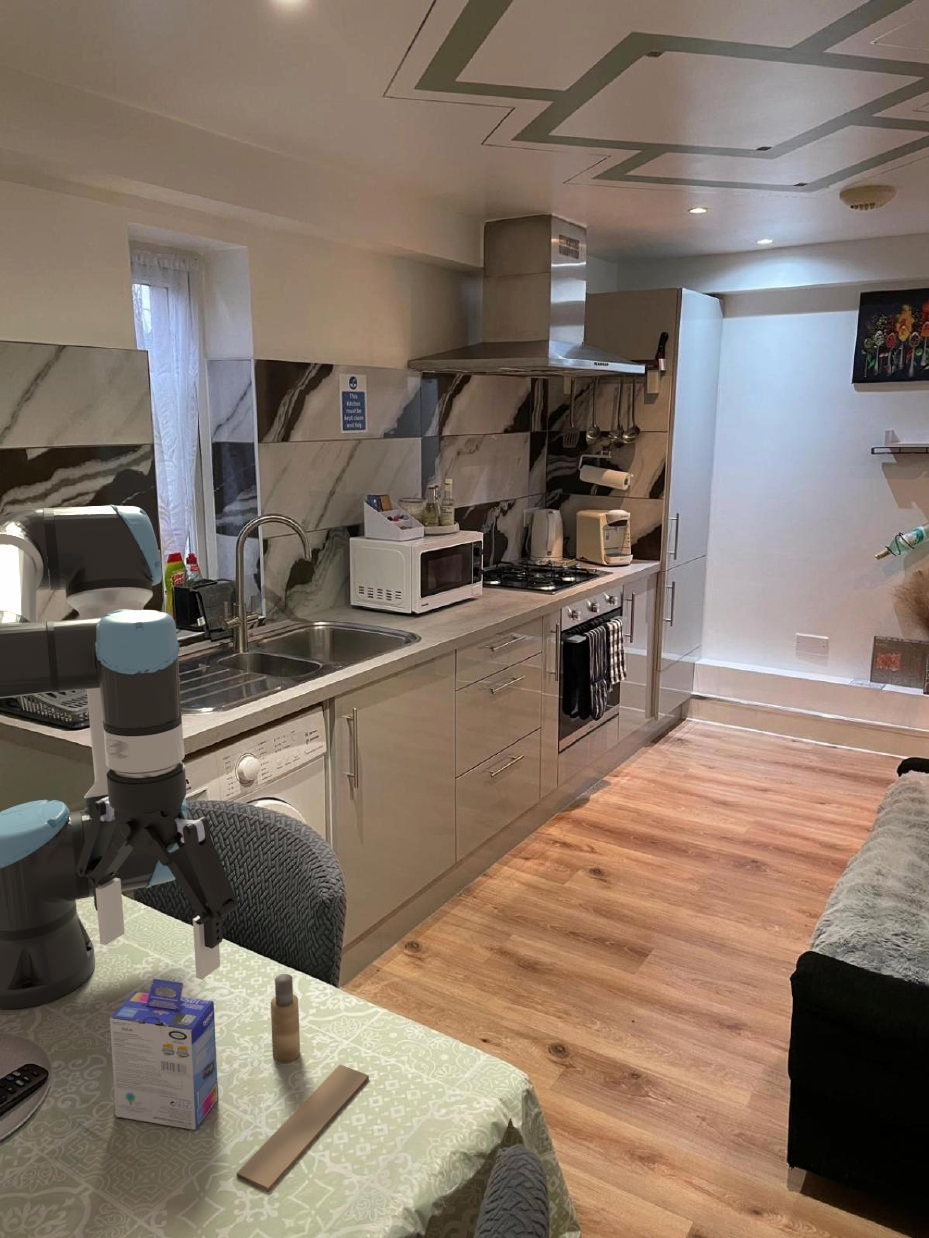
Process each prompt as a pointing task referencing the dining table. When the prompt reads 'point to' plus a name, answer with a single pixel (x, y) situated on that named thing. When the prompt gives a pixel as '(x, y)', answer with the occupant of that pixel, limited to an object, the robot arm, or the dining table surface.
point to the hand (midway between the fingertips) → (159, 955)
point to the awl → (285, 1021)
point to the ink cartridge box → (164, 1057)
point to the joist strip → (302, 1128)
